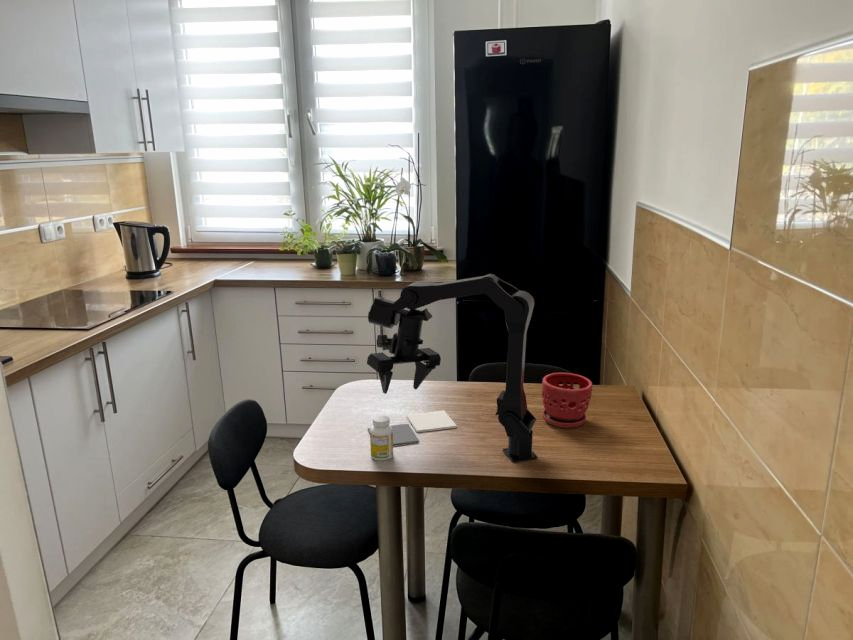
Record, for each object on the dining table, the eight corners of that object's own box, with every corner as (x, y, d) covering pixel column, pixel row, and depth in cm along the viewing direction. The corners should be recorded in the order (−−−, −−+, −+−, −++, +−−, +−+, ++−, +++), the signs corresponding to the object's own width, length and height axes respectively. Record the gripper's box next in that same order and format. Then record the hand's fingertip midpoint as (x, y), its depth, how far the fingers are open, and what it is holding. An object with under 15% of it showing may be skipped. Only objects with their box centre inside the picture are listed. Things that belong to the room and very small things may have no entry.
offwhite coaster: (456, 427, 170) (456, 425, 170) (416, 432, 167) (416, 430, 167) (444, 412, 180) (444, 410, 180) (406, 416, 177) (406, 414, 177)
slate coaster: (419, 442, 161) (419, 440, 161) (376, 448, 158) (376, 446, 158) (408, 425, 171) (408, 423, 171) (367, 430, 168) (367, 428, 168)
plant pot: (537, 428, 169) (539, 385, 166) (543, 410, 182) (545, 370, 179) (588, 434, 166) (591, 390, 163) (591, 415, 178) (593, 374, 175)
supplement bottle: (381, 449, 158) (380, 412, 155) (397, 455, 155) (397, 417, 152) (366, 456, 154) (365, 419, 151) (382, 463, 151) (381, 425, 148)
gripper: (421, 319, 168) (412, 374, 172) (359, 324, 157) (352, 382, 162) (446, 334, 159) (436, 391, 164) (383, 340, 148) (374, 401, 153)
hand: (400, 390), depth 161 cm, fingers open, 9 cm apart
